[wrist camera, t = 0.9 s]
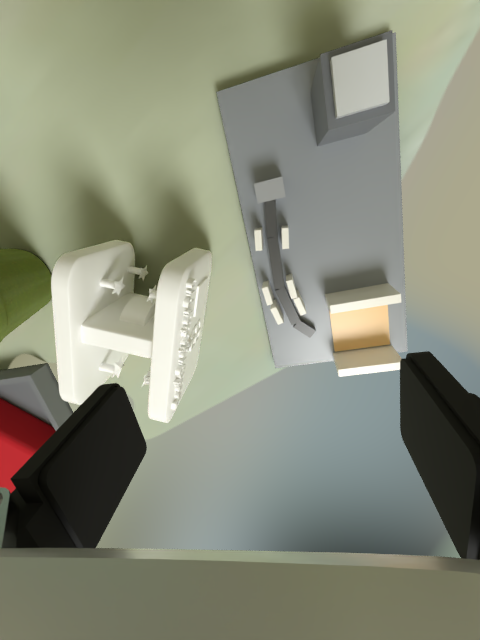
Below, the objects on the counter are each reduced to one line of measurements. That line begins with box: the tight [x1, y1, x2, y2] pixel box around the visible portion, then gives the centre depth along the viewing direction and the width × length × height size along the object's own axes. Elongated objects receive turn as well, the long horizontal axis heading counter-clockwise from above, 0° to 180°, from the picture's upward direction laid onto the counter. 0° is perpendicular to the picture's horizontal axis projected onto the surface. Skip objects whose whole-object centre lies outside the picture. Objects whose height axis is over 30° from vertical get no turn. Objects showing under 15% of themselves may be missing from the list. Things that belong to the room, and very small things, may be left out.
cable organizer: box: [51, 240, 212, 423], centre depth 29 cm, size 15×11×12 cm
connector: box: [311, 31, 395, 147], centre depth 21 cm, size 4×4×8 cm
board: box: [216, 32, 407, 377], centre depth 27 cm, size 27×14×5 cm, turn 13°
